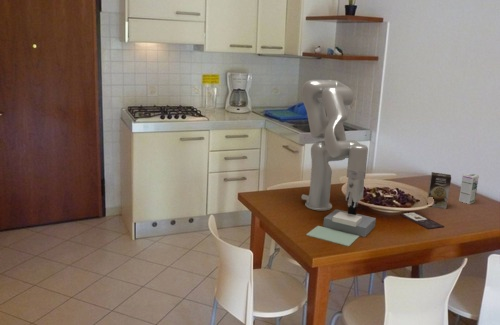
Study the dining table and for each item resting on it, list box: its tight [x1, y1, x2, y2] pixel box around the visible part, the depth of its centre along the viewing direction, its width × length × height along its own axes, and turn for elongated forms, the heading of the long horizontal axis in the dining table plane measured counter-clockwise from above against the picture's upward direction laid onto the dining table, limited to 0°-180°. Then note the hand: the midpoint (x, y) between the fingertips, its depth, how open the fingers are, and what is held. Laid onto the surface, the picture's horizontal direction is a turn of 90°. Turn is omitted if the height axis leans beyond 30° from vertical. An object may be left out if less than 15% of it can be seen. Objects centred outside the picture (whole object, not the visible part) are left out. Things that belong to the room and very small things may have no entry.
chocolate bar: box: [400, 211, 445, 230], centre depth 217 cm, size 9×1×18 cm
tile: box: [332, 212, 362, 227], centre depth 201 cm, size 10×8×2 cm
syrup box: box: [458, 172, 480, 205], centre depth 246 cm, size 6×6×14 cm
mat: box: [305, 225, 360, 248], centre depth 195 cm, size 18×12×1 cm, turn 59°
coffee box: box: [427, 171, 452, 210], centre depth 237 cm, size 9×6×16 cm
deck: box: [322, 208, 377, 238], centre depth 205 cm, size 18×14×4 cm
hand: (351, 215), depth 205 cm, fingers closed
